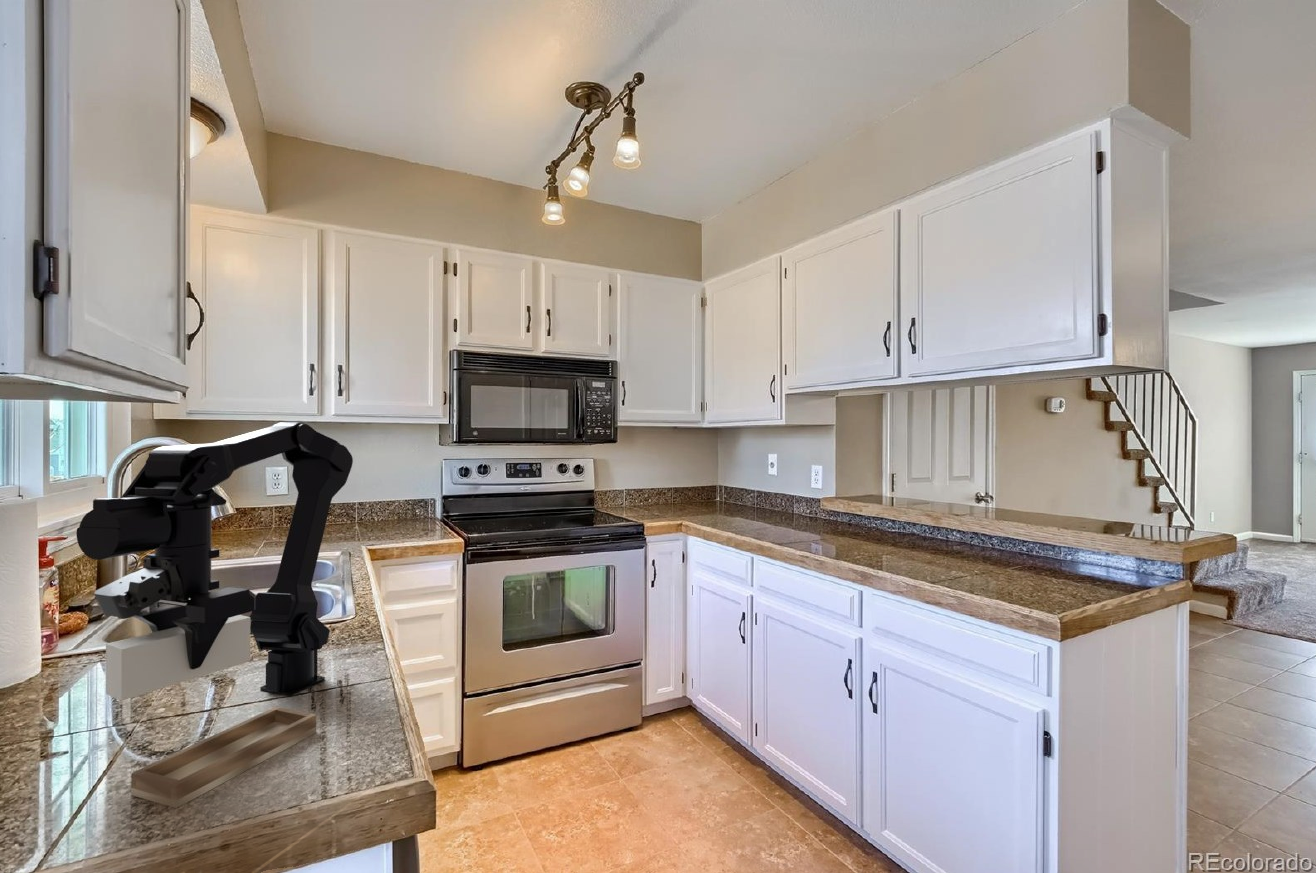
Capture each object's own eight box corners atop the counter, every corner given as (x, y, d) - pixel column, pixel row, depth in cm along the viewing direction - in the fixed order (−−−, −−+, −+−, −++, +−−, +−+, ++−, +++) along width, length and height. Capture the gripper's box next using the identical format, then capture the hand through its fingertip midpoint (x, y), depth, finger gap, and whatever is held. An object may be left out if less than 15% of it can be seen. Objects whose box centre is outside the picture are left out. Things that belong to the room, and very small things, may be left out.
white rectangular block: (233, 656, 84) (234, 613, 84) (250, 661, 82) (250, 617, 82) (105, 693, 71) (105, 643, 71) (121, 700, 70) (121, 649, 70)
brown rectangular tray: (276, 724, 82) (276, 706, 82) (316, 732, 80) (316, 714, 80) (131, 795, 66) (131, 773, 66) (176, 808, 63) (176, 785, 63)
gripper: (59, 550, 72) (58, 679, 72) (161, 561, 66) (160, 703, 66) (162, 536, 83) (162, 649, 83) (258, 544, 76) (258, 667, 76)
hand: (183, 665), depth 77 cm, fingers closed on white rectangular block, 4 cm apart
